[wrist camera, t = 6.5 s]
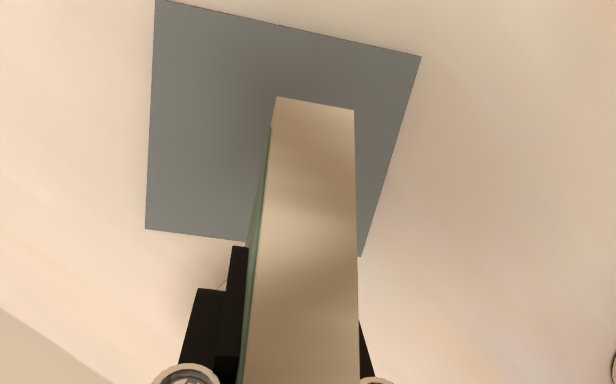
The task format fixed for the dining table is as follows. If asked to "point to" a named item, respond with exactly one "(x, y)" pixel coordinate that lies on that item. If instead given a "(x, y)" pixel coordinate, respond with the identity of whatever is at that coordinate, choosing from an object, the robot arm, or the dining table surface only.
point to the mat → (255, 113)
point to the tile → (303, 252)
